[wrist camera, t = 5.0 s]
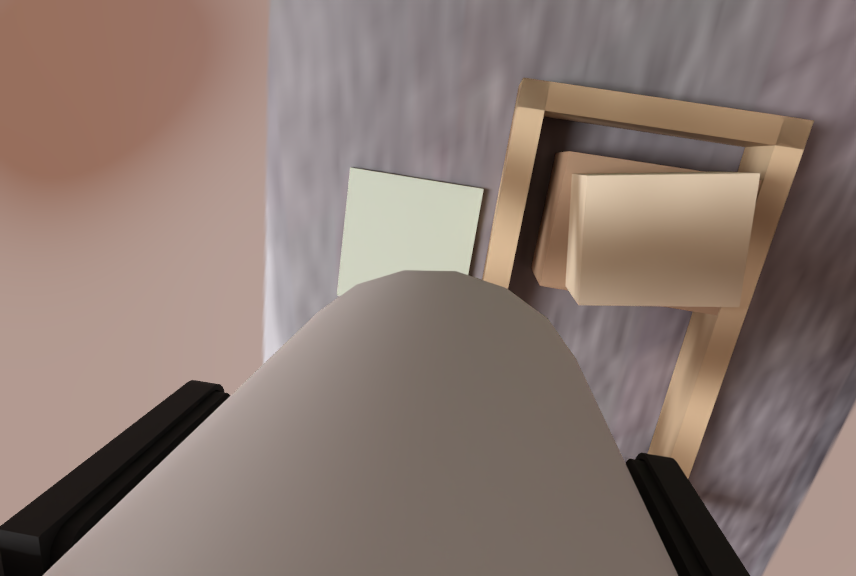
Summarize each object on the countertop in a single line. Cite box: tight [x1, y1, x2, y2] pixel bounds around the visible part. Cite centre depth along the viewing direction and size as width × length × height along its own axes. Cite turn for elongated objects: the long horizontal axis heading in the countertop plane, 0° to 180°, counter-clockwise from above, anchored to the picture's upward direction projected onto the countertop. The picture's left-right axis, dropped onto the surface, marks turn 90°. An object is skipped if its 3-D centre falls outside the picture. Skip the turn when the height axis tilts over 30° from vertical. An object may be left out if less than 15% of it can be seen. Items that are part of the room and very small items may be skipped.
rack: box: [482, 78, 814, 478], centre depth 23 cm, size 21×12×6 cm, turn 171°
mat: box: [337, 168, 484, 296], centre depth 26 cm, size 7×7×1 cm
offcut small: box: [565, 172, 760, 307], centre depth 19 cm, size 5×6×3 cm
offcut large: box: [531, 151, 762, 315], centre depth 23 cm, size 6×8×4 cm
